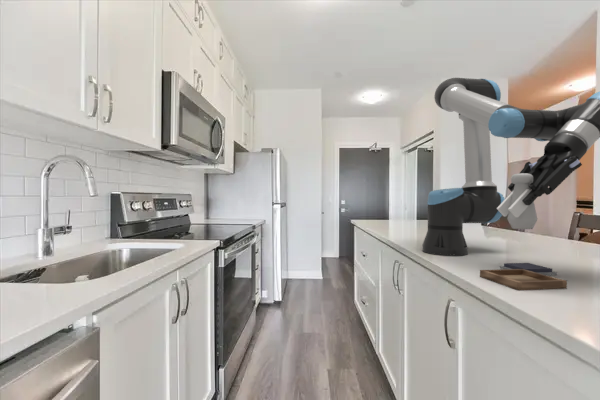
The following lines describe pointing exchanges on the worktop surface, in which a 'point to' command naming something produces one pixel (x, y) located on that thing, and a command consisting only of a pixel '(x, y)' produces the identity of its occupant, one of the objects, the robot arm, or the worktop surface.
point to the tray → (523, 279)
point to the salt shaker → (529, 214)
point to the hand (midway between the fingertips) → (507, 212)
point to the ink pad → (529, 268)
